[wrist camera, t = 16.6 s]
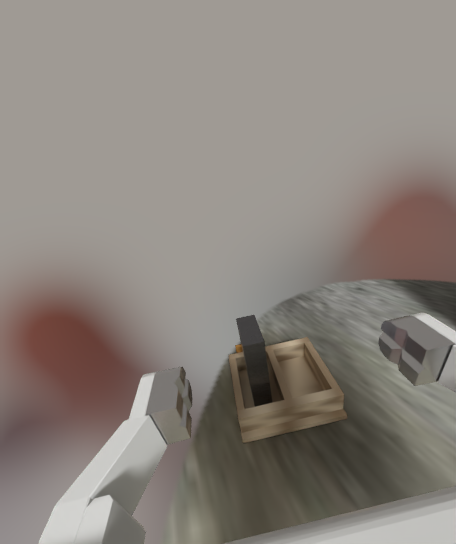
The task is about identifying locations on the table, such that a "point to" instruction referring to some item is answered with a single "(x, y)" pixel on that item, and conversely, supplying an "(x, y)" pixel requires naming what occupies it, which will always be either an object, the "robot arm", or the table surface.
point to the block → (255, 359)
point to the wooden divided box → (287, 392)
